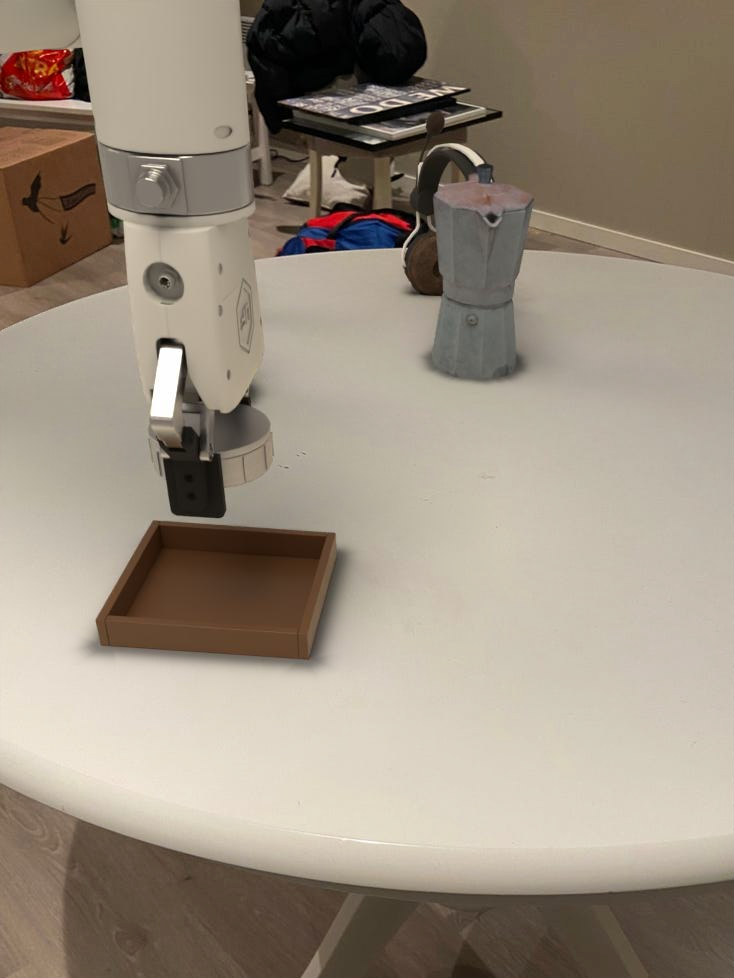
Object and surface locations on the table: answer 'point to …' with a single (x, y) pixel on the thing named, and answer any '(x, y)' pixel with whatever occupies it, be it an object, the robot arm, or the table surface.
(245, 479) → the lid
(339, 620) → the table surface
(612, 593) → the table surface
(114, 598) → the tray
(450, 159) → the headset
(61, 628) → the table surface
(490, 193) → the moka pot
